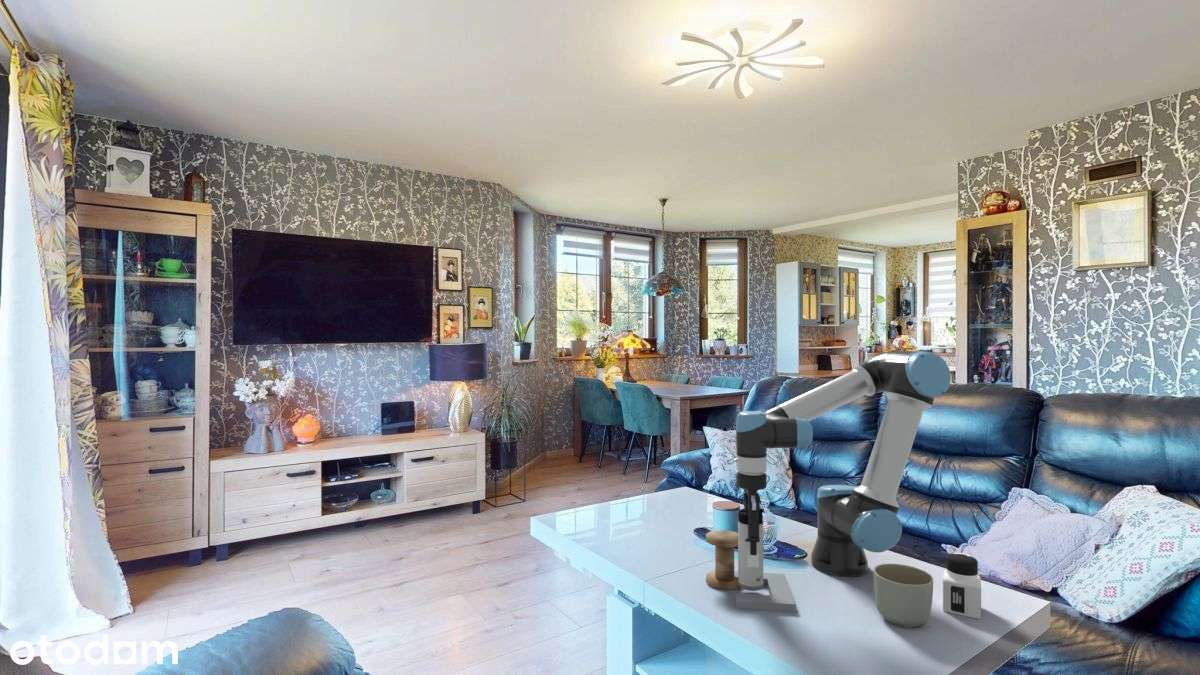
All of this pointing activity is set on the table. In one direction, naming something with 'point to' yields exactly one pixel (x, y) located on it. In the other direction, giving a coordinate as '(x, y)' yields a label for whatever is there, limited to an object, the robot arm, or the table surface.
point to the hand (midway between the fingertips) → (751, 561)
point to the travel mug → (747, 575)
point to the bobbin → (723, 560)
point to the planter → (903, 594)
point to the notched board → (775, 601)
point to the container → (962, 586)
